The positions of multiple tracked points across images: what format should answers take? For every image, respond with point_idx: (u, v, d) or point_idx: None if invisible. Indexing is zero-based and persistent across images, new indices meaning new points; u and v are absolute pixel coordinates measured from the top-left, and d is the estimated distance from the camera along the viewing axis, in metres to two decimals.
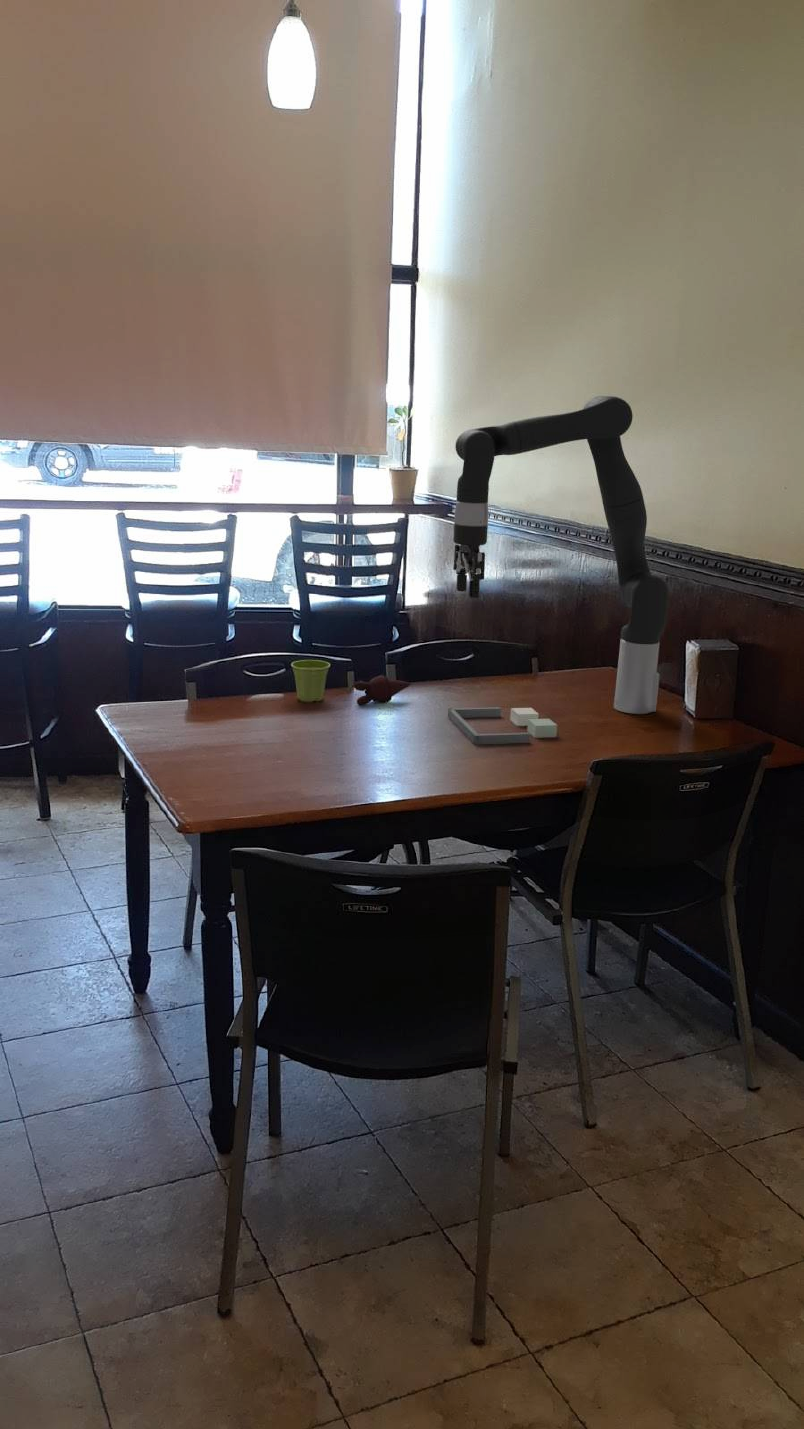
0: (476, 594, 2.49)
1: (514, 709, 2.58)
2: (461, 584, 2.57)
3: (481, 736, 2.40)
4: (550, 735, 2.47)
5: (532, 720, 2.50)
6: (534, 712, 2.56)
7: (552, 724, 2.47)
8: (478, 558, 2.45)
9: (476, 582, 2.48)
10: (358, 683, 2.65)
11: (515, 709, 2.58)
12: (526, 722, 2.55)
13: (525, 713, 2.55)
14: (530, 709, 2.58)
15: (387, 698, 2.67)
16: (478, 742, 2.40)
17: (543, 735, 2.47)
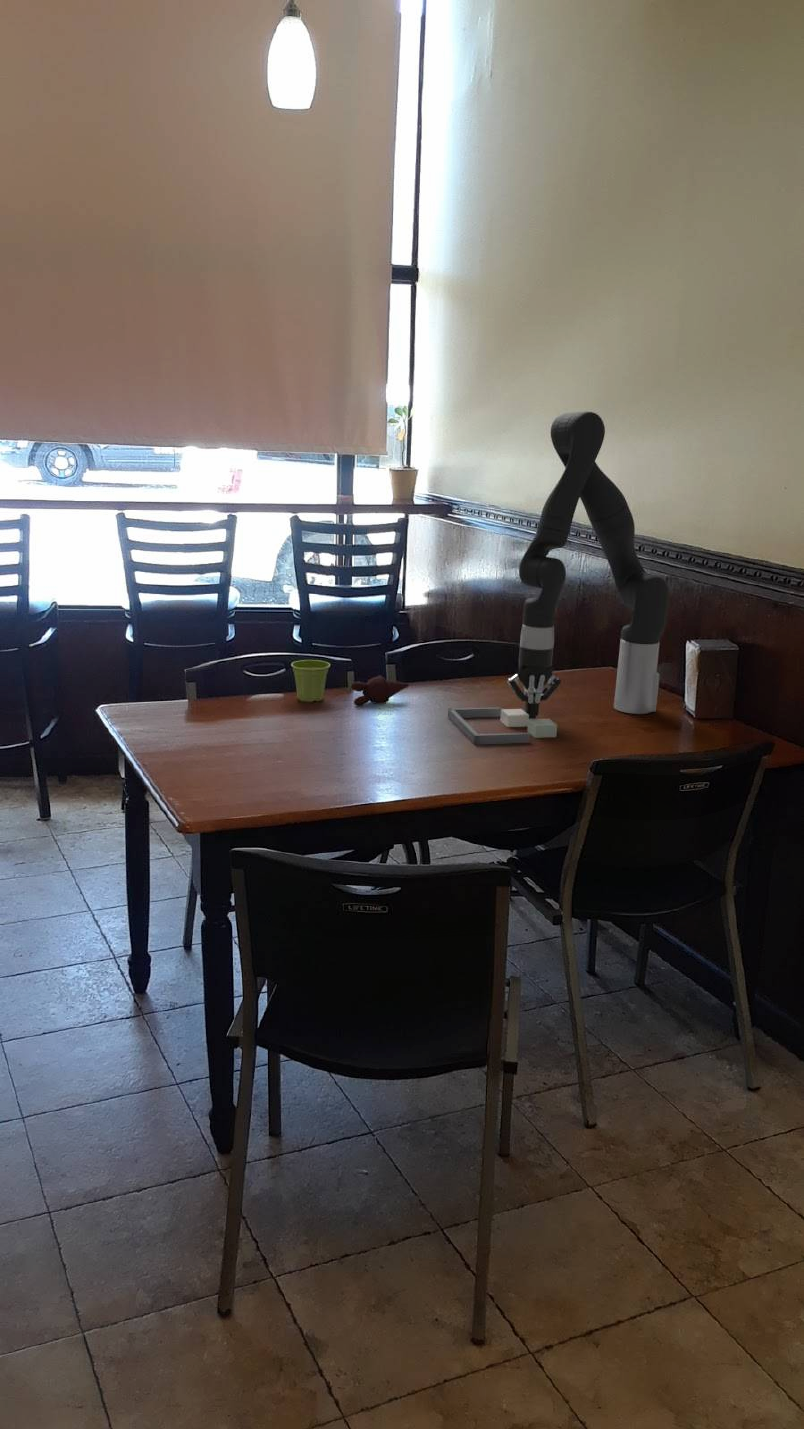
0: None
1: (504, 710, 2.57)
2: None
3: (481, 736, 2.40)
4: (550, 735, 2.47)
5: (532, 720, 2.50)
6: (524, 713, 2.55)
7: (552, 724, 2.47)
8: None
9: None
10: (355, 683, 2.64)
11: (505, 710, 2.57)
12: (517, 724, 2.54)
13: (515, 715, 2.54)
14: (520, 710, 2.57)
15: (384, 699, 2.66)
16: (478, 742, 2.40)
17: (543, 735, 2.47)
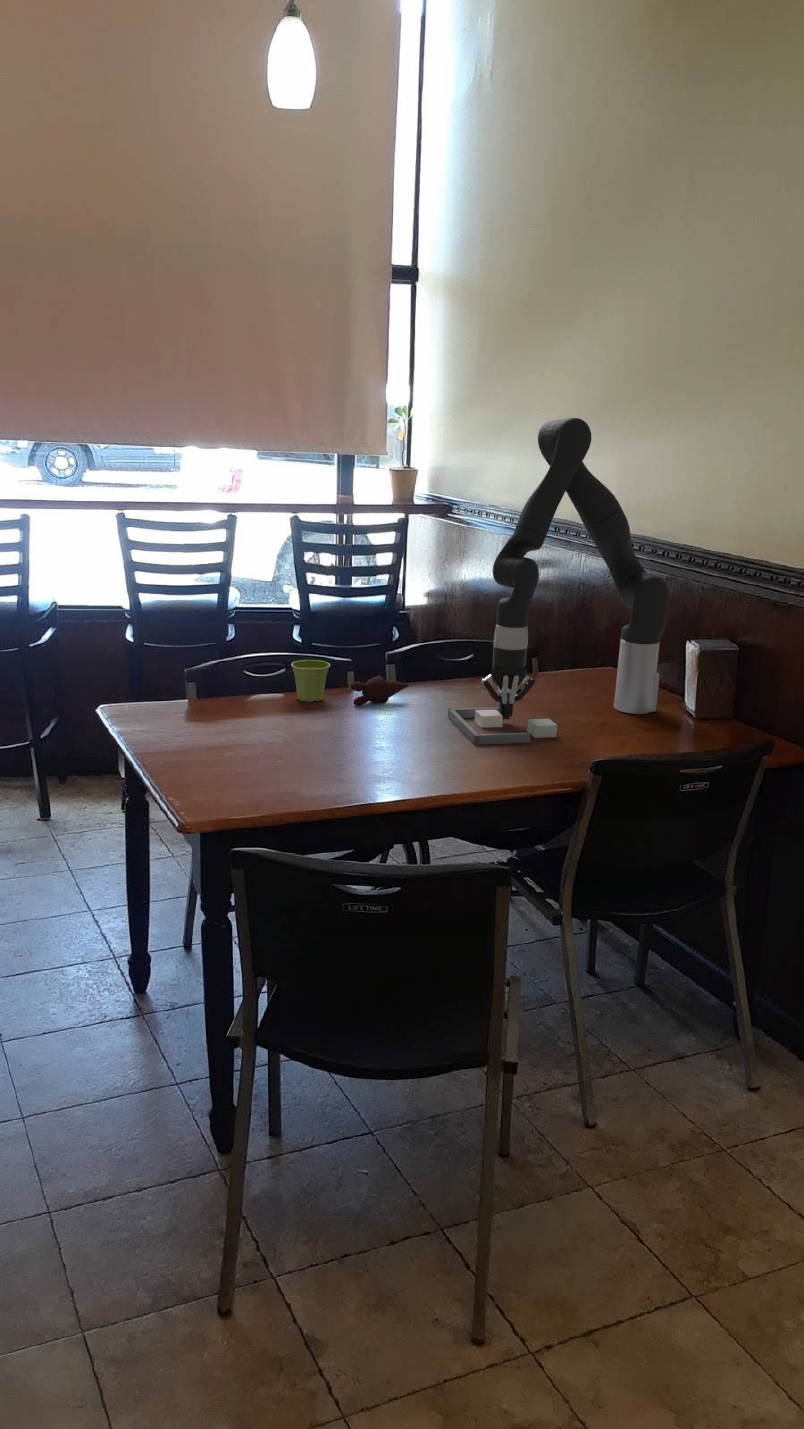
0: None
1: (478, 711, 2.55)
2: None
3: (481, 736, 2.40)
4: (550, 735, 2.47)
5: (532, 720, 2.50)
6: (498, 714, 2.54)
7: (552, 724, 2.47)
8: None
9: None
10: (355, 684, 2.64)
11: (479, 711, 2.55)
12: (490, 724, 2.53)
13: (489, 715, 2.52)
14: (494, 711, 2.56)
15: (384, 699, 2.66)
16: (478, 742, 2.40)
17: (543, 735, 2.47)
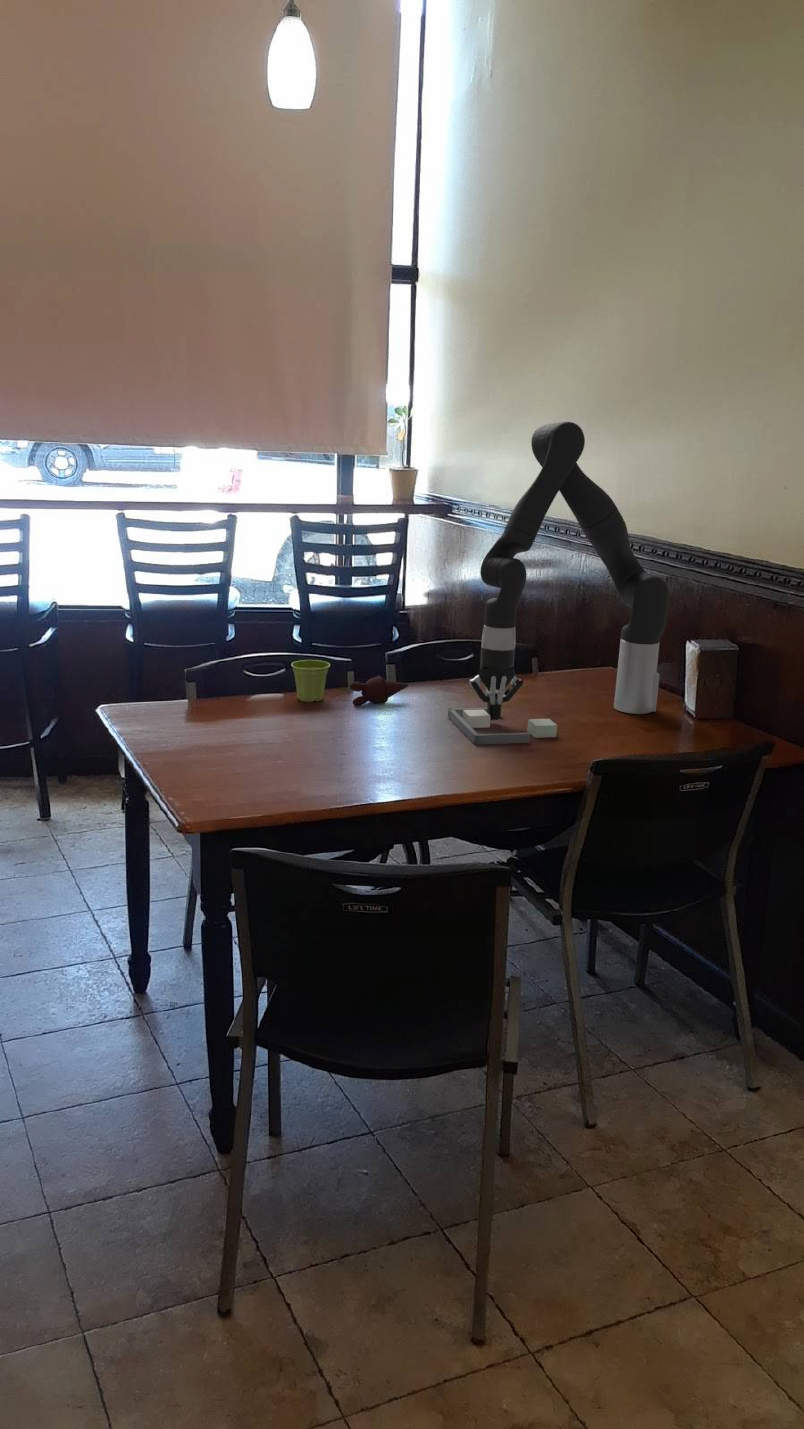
0: None
1: (466, 711, 2.55)
2: None
3: (481, 736, 2.40)
4: (550, 735, 2.47)
5: (532, 720, 2.50)
6: (486, 714, 2.53)
7: (552, 724, 2.47)
8: None
9: None
10: (354, 684, 2.64)
11: (467, 711, 2.55)
12: (478, 724, 2.52)
13: (476, 715, 2.52)
14: (482, 711, 2.55)
15: (383, 699, 2.66)
16: (478, 742, 2.40)
17: (543, 735, 2.47)
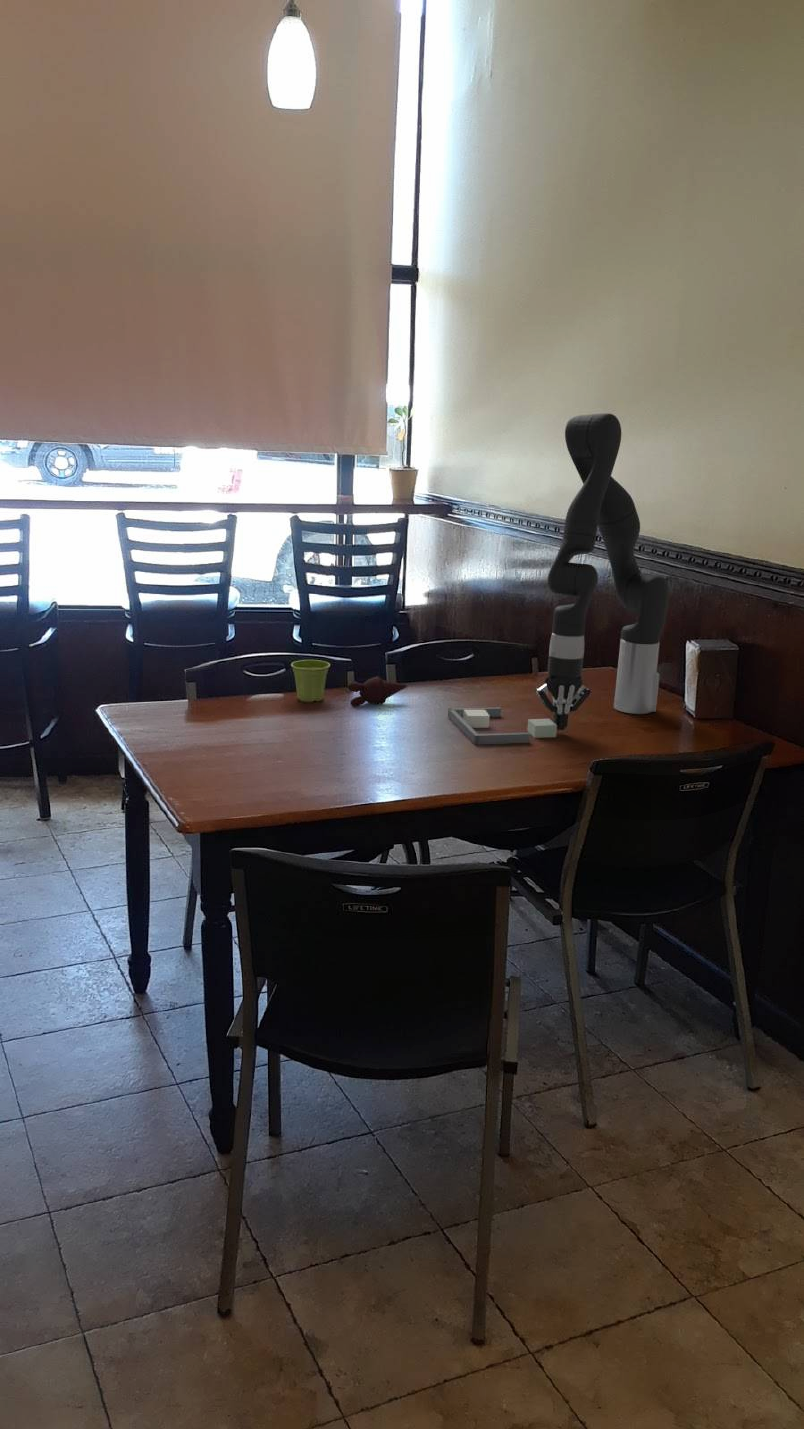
0: None
1: (466, 711, 2.55)
2: None
3: (481, 736, 2.40)
4: (550, 735, 2.47)
5: (532, 720, 2.50)
6: (485, 714, 2.53)
7: (552, 724, 2.47)
8: None
9: None
10: (352, 684, 2.64)
11: (467, 711, 2.55)
12: (477, 724, 2.52)
13: (475, 715, 2.52)
14: (483, 711, 2.55)
15: (381, 700, 2.65)
16: (478, 742, 2.40)
17: (543, 735, 2.47)
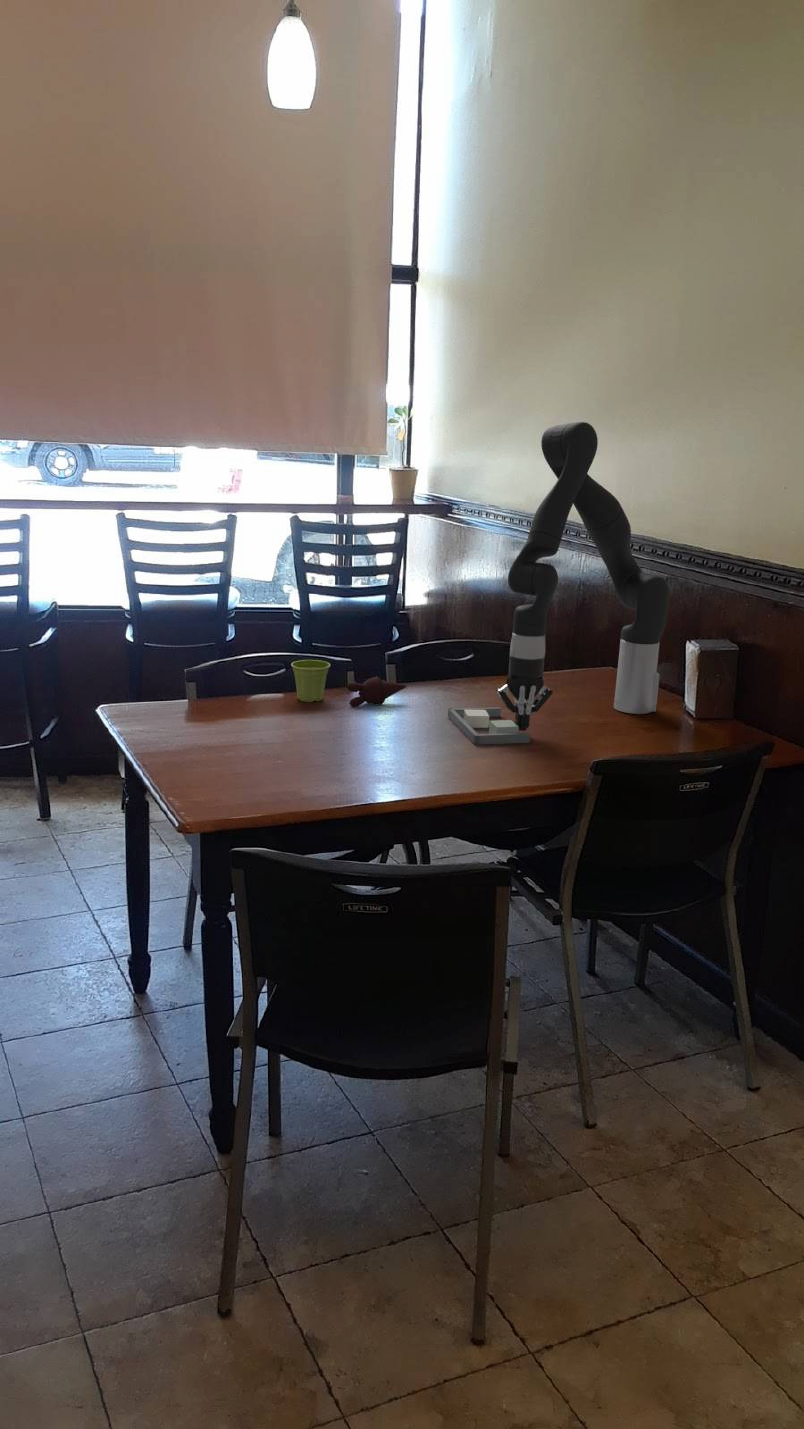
0: None
1: (466, 710, 2.55)
2: None
3: (481, 736, 2.40)
4: None
5: (494, 721, 2.48)
6: (485, 714, 2.53)
7: (513, 725, 2.45)
8: None
9: None
10: (351, 684, 2.63)
11: (467, 710, 2.55)
12: (476, 724, 2.52)
13: (475, 715, 2.52)
14: (483, 711, 2.55)
15: (380, 700, 2.65)
16: (478, 742, 2.40)
17: None
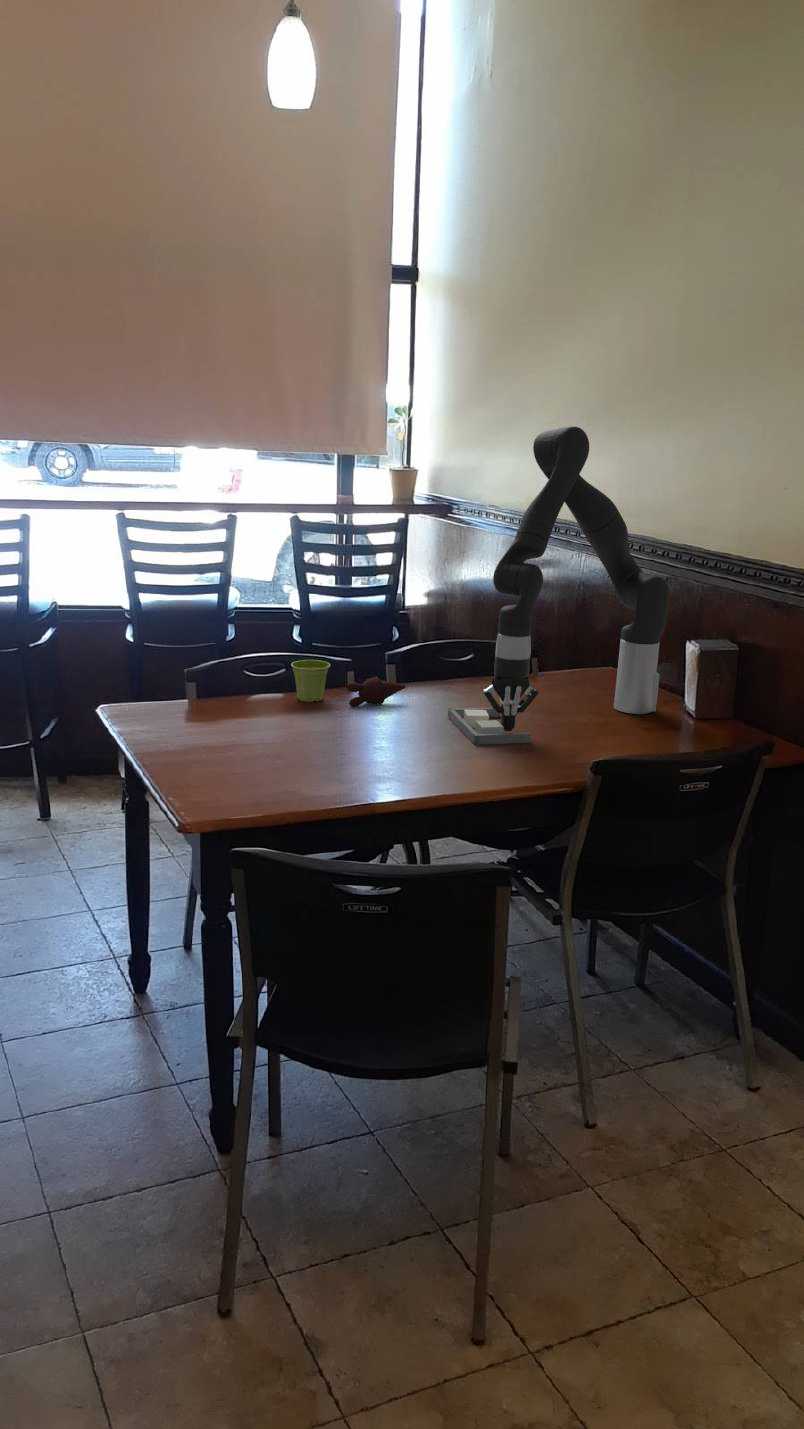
0: None
1: (466, 710, 2.55)
2: None
3: (481, 736, 2.40)
4: None
5: (479, 721, 2.47)
6: (485, 714, 2.53)
7: (499, 726, 2.45)
8: None
9: None
10: (350, 684, 2.63)
11: (467, 710, 2.55)
12: None
13: (475, 715, 2.52)
14: (483, 711, 2.55)
15: (380, 700, 2.65)
16: (478, 742, 2.40)
17: None
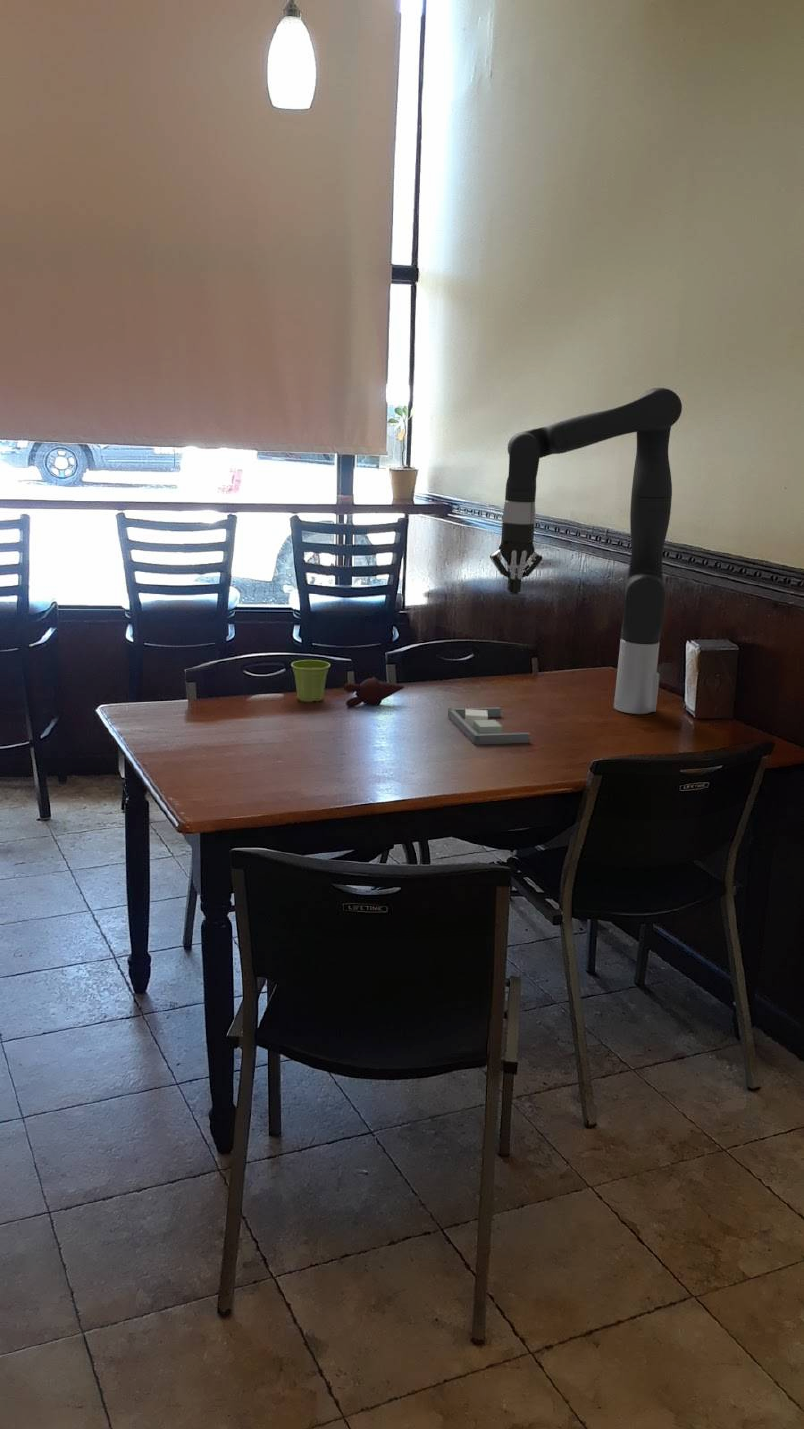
0: None
1: (467, 710, 2.55)
2: None
3: (481, 736, 2.40)
4: None
5: (477, 721, 2.47)
6: (484, 714, 2.52)
7: (497, 725, 2.45)
8: None
9: None
10: (347, 684, 2.63)
11: (468, 710, 2.55)
12: None
13: (473, 715, 2.52)
14: (484, 711, 2.55)
15: (377, 701, 2.64)
16: (478, 742, 2.40)
17: None
